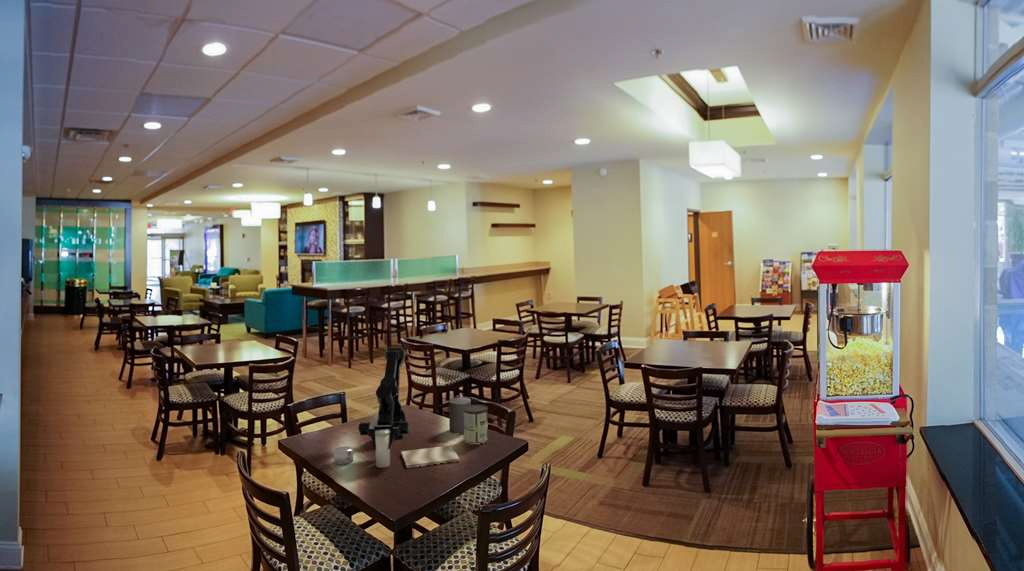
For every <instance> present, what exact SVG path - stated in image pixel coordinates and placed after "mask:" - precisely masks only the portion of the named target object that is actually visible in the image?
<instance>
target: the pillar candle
mask: <svg viewBox="0 0 1024 571" xmlns="http://www.w3.org/2000/svg"><path fill="white" fill-rule="evenodd" d="M471 403H472V402H471V399H470V398H467V397H459V396H458V397H454V398H451V399H449V402H448V404H449V406H448V407H449V409H448V410H449V414H448V416H449V418H448V419H449V420H448V422H449V424H448V425H449V426H448V428H449V432H450V433H451V432H452V434H455V433H463V434H464V411H463V408H464V407H466V406H469V405H472V404H471Z"/></svg>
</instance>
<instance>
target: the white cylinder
mask: <svg viewBox="0 0 1024 571" xmlns="http://www.w3.org/2000/svg"><path fill="white" fill-rule="evenodd" d="M389 434H390V430H388V429H379V430H376V431H375V442H376V449H375V466H376V467H377V468H382V469H383V468H387V467H390V466H391V449H389V442H390V436H389Z"/></svg>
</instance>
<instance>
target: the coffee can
mask: <svg viewBox="0 0 1024 571" xmlns="http://www.w3.org/2000/svg"><path fill="white" fill-rule="evenodd" d="M463 411H464V433H463V437H464V438H463V441H465V442H466V443H465V442H464V443H465V444H467V443H469V444H468V445H474V444H476V445H481V444H480V443H483V444H485V443H484V442H486V441H487V440H488V441H489V434H488V432H489V431H488V430H489V429H488V428H489V427H488V426H489V424H488V423H489V421H488V418H489V417H488V411H489V408H488V406H487V405H483V404H471V405H469V406H466V407H464V408H463ZM488 441H487V442H488ZM487 442H486V443H487Z"/></svg>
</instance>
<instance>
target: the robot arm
mask: <svg viewBox="0 0 1024 571" xmlns="http://www.w3.org/2000/svg"><path fill="white" fill-rule="evenodd" d="M405 358H406V349H404V348H403V347H402V346H398V347H397V346H396V347H392V346H391V347H388V349H385V350H384V359H386V364H385V369H384V370H385V372H384V376H383V378H382V379H380V383H379V386H378V387H377V389H376V391H375V397H376V400H377V403H378V412H377V422H376V425H374V424H371V423H370V421H369V422H363V421H362V422H360V423H359V424H358V429H357V430H358V431H359V435H360V436H367V437H369V438H371V441H372V446H373V449H374V450H375V451H376V442H375V431H376V430H379V429H388V430H390V434H389V436H390V442H389V449H390V450H391V448H392V446H393V444H394V443H395V441H396V440H400V439H404V435H409V434H410V425H409V422H408V421H407V420H406V419H407V417H406V413H405V410H404V409H403V406H402V403H401V402H400V380H401V378H400V377H401V376H400V374H401V367H402V366H403V363H404V362H405Z"/></svg>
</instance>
